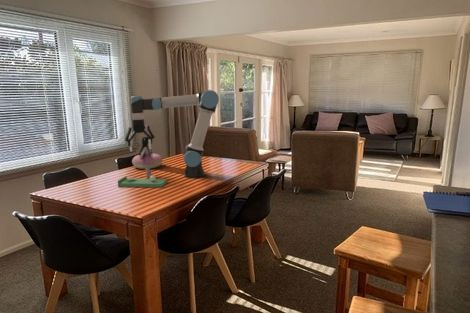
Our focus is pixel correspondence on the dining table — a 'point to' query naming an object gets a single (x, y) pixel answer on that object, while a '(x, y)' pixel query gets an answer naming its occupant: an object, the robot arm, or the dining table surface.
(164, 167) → the dining table surface
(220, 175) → the dining table surface
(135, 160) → the cushion
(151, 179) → the ball
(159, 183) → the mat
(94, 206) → the dining table surface
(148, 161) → the figurine
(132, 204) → the dining table surface
